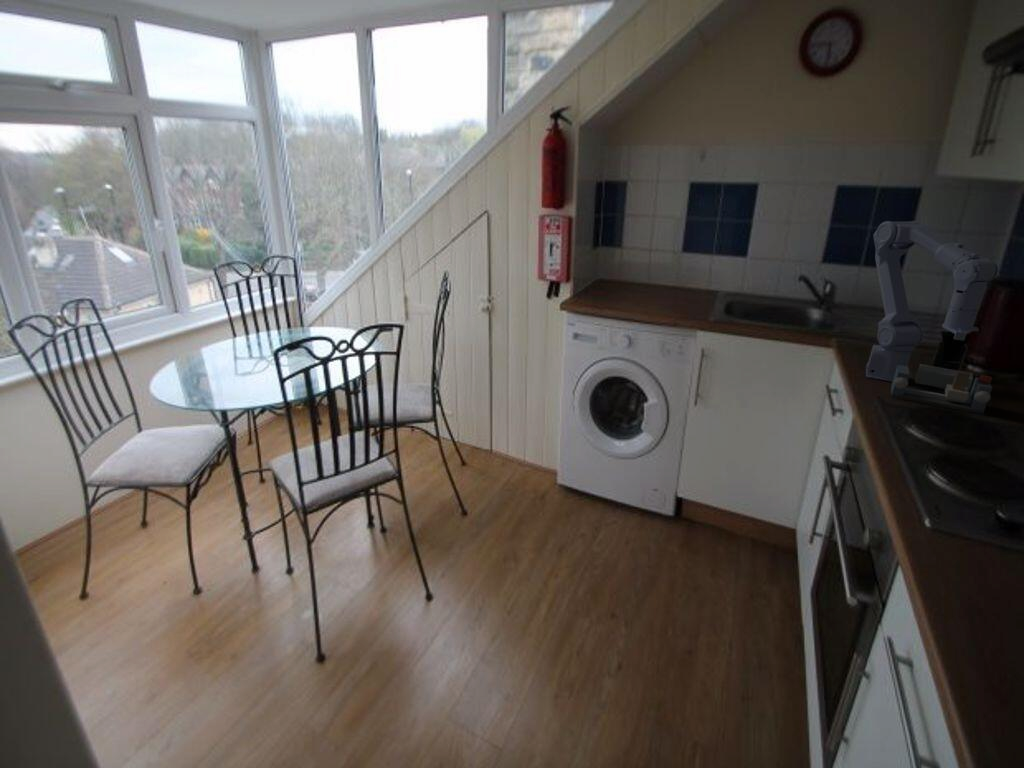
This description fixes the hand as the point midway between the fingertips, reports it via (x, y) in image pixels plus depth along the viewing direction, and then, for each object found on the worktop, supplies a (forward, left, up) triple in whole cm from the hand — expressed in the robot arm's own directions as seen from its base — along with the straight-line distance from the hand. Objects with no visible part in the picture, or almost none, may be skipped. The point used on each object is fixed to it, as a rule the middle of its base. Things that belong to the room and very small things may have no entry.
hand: (946, 360), depth 138 cm
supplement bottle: (+4, +25, -11) cm, 28 cm away
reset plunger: (+8, -2, -3) cm, 9 cm away
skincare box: (+8, +11, -8) cm, 16 cm away
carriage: (+4, -2, -9) cm, 10 cm away
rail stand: (0, -2, -10) cm, 11 cm away
